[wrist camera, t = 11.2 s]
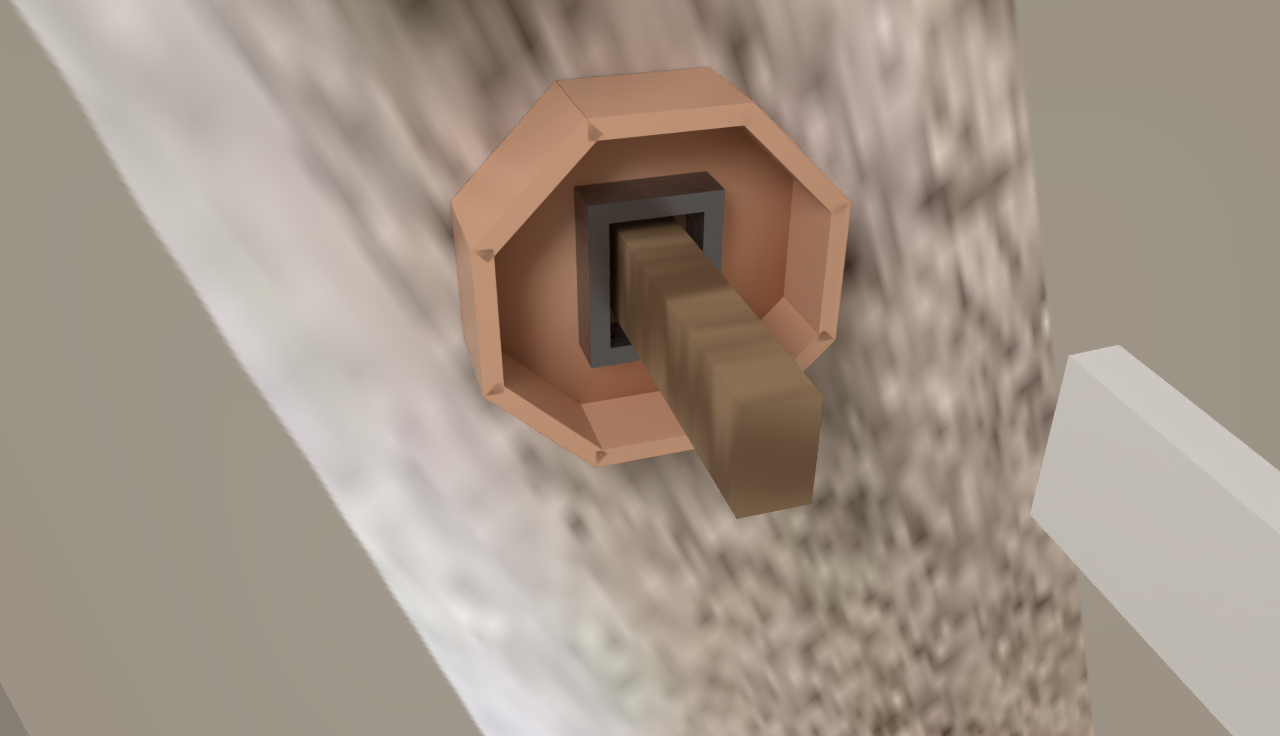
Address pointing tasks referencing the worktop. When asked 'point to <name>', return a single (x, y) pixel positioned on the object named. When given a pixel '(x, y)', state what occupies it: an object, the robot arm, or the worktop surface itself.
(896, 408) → the worktop surface
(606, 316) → the grey rectangular sleeve
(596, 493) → the worktop surface
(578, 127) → the orange octagonal tray
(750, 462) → the wooden bar
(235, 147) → the worktop surface
